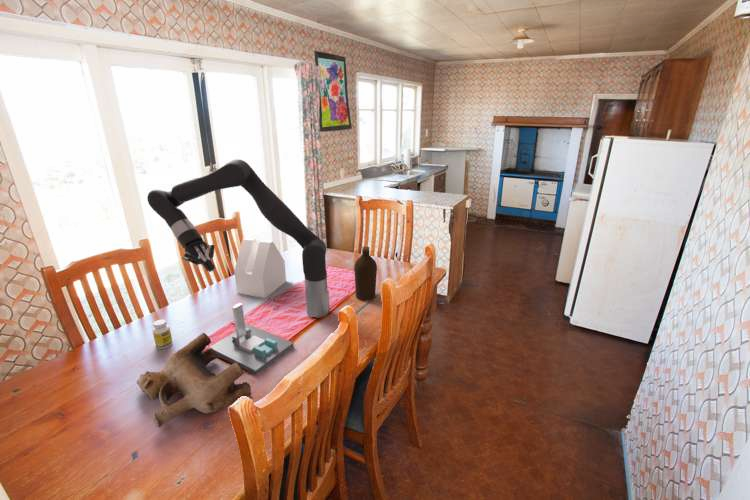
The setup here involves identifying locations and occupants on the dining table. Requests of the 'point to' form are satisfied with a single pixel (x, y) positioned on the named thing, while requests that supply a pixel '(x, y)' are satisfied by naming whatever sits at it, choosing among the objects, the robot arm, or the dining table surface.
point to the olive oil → (365, 276)
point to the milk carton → (259, 268)
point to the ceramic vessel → (192, 382)
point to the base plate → (252, 349)
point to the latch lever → (239, 320)
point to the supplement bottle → (162, 334)
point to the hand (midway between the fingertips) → (212, 270)
